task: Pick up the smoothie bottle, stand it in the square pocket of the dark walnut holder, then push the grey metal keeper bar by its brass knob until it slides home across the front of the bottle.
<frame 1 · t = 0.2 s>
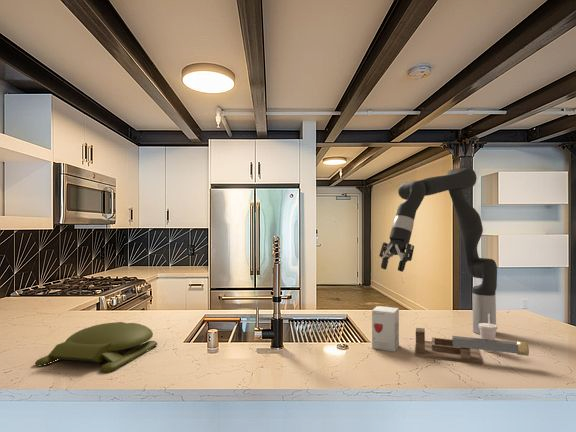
hand: (391, 269, 134), 31 cm above the countertop, tool tilted 20°, fingers open, 8 cm apart
keeper bar: (488, 344, 125), point 6 cm above the countertop, slide at 14.0 cm
smoothie: (488, 351, 137), on the countertop
spaceship: (106, 353, 136), on the countertop
supplement box: (385, 347, 141), on the countertop
holder: (446, 352, 135), on the countertop
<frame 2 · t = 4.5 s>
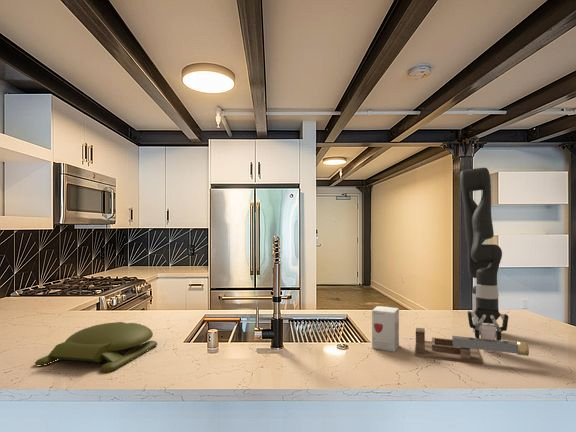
hand: (487, 340, 137), 4 cm above the countertop, tool pointing down, fingers closed on smoothie, 6 cm apart
smoothie: (488, 351, 137), on the countertop, touching gripper
everything else where it was.
when the fingers open (6 cm above the countertop, at t = 11.5 s): smoothie drops 1 cm, resting on holder.
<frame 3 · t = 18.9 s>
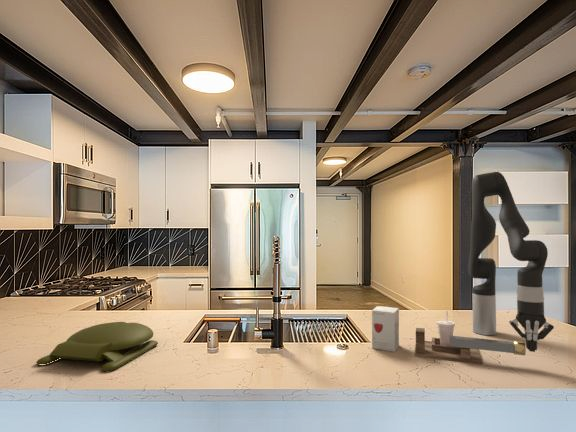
hand: (531, 350, 121), 5 cm above the countertop, tool pointing down, fingers closed
keeper bar: (485, 344, 126), point 6 cm above the countertop, slide at 13.1 cm, touching gripper
smoothie: (446, 348, 137), point 1 cm above the countertop, touching holder
everything else where it was.
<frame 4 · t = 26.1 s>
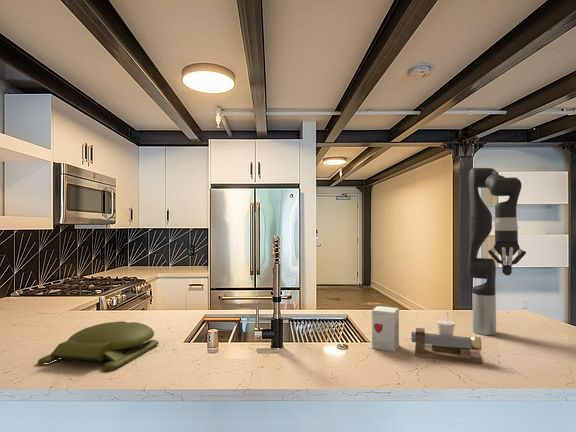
hand: (507, 275, 136), 29 cm above the countertop, tool pointing down, fingers closed
keeper bar: (445, 340, 130), point 6 cm above the countertop, slide at 0.0 cm
at the end: smoothie 0.1 cm from the target spot on the holder, point 0.8 cm above the holder's base; smoothie tilted 0°; keeper bar slide at 0.0 cm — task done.
